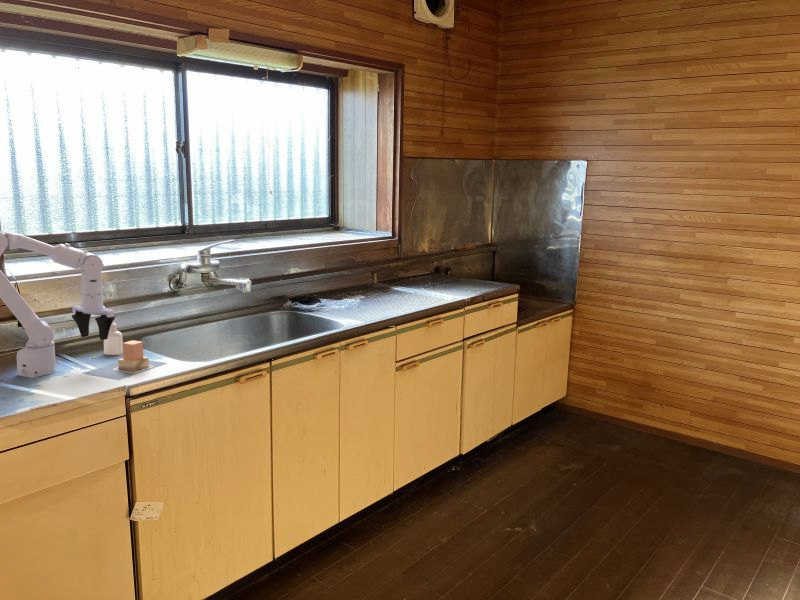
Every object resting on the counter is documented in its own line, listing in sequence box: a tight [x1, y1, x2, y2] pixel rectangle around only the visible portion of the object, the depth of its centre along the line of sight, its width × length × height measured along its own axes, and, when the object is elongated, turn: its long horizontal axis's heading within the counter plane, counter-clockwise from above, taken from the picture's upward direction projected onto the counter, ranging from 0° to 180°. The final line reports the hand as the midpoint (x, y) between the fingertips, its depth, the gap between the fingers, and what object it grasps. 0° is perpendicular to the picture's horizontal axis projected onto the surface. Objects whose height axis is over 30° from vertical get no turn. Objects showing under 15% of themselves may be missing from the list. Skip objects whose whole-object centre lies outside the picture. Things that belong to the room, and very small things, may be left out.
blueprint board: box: [81, 359, 168, 381], centre depth 193 cm, size 20×14×1 cm
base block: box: [117, 356, 150, 372], centre depth 193 cm, size 6×6×3 cm
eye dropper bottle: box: [103, 320, 124, 356], centre depth 208 cm, size 4×6×12 cm
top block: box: [122, 339, 144, 361], centre depth 192 cm, size 4×4×5 cm
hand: (94, 337), depth 193 cm, fingers open, 7 cm apart
